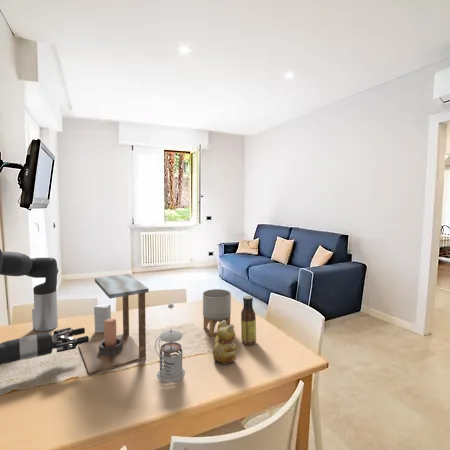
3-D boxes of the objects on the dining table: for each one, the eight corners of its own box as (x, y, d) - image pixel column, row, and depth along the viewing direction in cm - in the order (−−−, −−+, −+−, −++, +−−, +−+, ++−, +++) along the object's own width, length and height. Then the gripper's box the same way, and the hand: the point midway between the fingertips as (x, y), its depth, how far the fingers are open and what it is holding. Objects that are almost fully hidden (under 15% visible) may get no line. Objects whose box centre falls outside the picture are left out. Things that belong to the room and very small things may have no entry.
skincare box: (111, 329, 139) (111, 304, 138) (107, 333, 135) (106, 307, 134) (99, 328, 139) (98, 303, 138) (94, 332, 135) (93, 306, 134)
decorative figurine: (240, 361, 112) (240, 323, 111) (224, 370, 106) (225, 329, 105) (222, 352, 119) (222, 315, 117) (206, 360, 113) (206, 321, 111)
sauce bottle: (257, 340, 129) (258, 295, 127) (254, 347, 123) (254, 300, 122) (242, 338, 131) (243, 294, 130) (238, 344, 125) (239, 298, 124)
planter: (197, 333, 135) (198, 295, 134) (209, 323, 147) (210, 287, 146) (224, 339, 130) (224, 299, 129) (234, 327, 142) (234, 291, 141)
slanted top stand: (89, 376, 102) (87, 298, 99) (78, 345, 123) (76, 280, 121) (149, 358, 113) (148, 288, 111) (129, 333, 135) (128, 274, 133)
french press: (172, 385, 97) (171, 311, 95) (147, 374, 103) (146, 304, 101) (191, 371, 105) (191, 302, 103) (166, 361, 111) (166, 296, 109)
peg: (102, 352, 116) (102, 322, 115) (108, 347, 120) (107, 318, 119) (113, 353, 115) (112, 323, 114) (118, 347, 120) (118, 319, 119)
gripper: (36, 343, 97) (89, 331, 106) (34, 327, 109) (83, 318, 118) (37, 365, 98) (90, 351, 107) (35, 347, 109) (83, 336, 118)
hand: (86, 334), depth 112 cm, fingers open, 8 cm apart
